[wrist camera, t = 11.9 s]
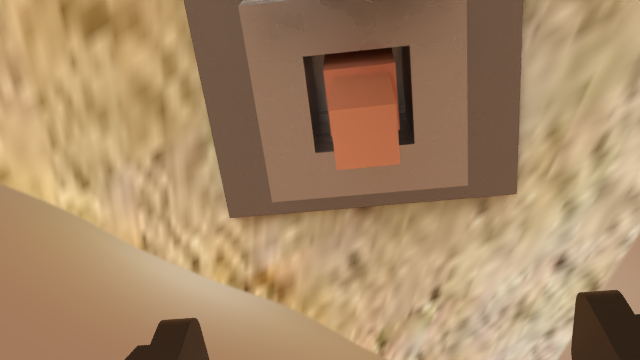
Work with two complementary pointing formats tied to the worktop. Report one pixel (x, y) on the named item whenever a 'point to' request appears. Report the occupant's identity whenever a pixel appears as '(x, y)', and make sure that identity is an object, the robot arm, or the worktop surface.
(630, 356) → the robot arm
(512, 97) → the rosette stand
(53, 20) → the worktop surface
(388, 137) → the stepped block
